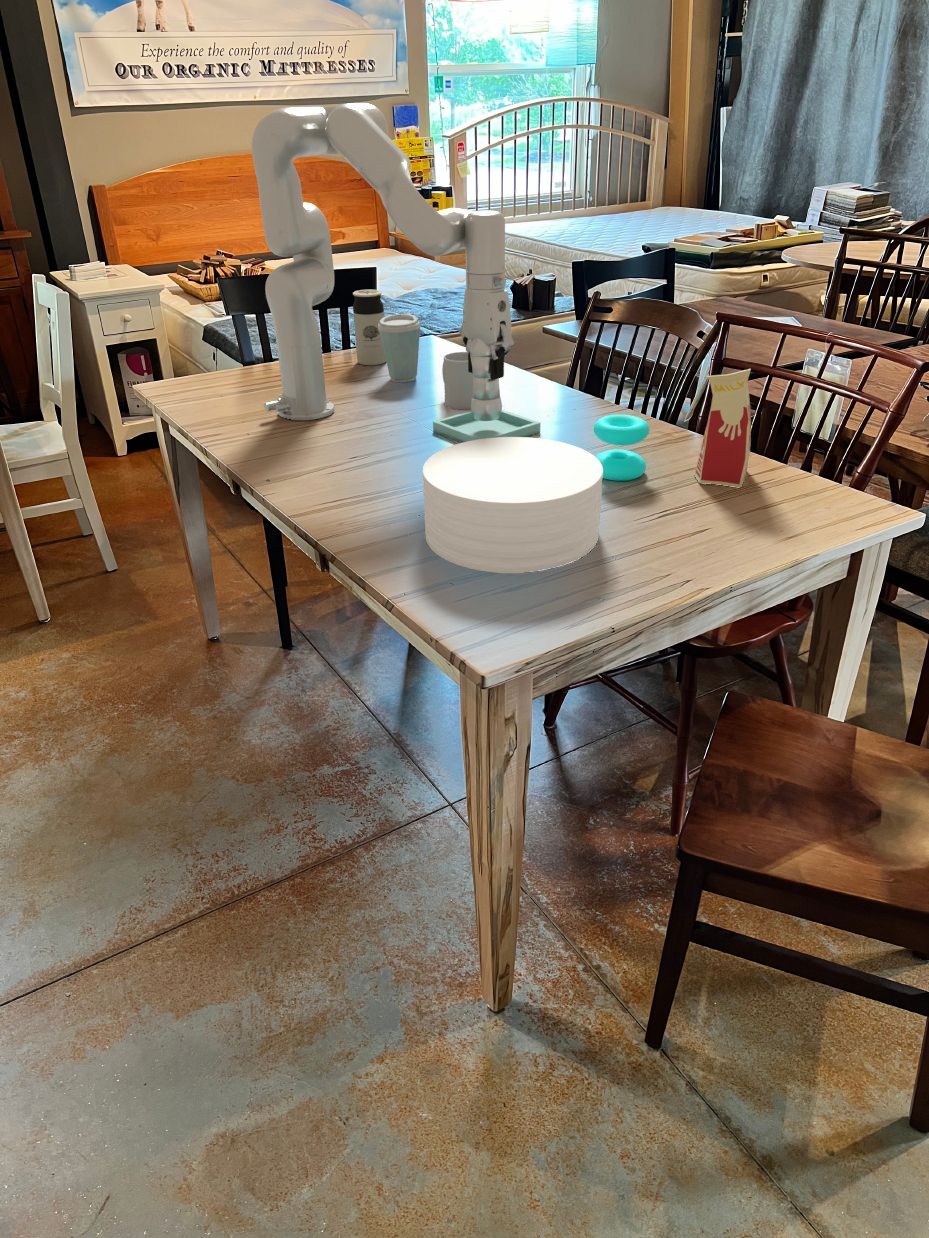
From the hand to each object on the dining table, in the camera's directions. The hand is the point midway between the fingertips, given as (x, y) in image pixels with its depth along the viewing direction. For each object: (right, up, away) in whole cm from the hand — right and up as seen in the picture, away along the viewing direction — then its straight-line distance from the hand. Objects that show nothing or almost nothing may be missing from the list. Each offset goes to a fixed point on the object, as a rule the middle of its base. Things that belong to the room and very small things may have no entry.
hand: (485, 374), depth 177 cm
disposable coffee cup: (-20, +10, +42) cm, 48 cm away
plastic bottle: (0, -8, +5) cm, 10 cm away
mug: (-6, 0, +25) cm, 25 cm away
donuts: (+24, -23, -14) cm, 36 cm away
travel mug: (-29, +19, +57) cm, 67 cm away
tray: (0, -11, +6) cm, 12 cm away
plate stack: (+3, -36, -36) cm, 51 cm away
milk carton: (+43, -24, -17) cm, 52 cm away
